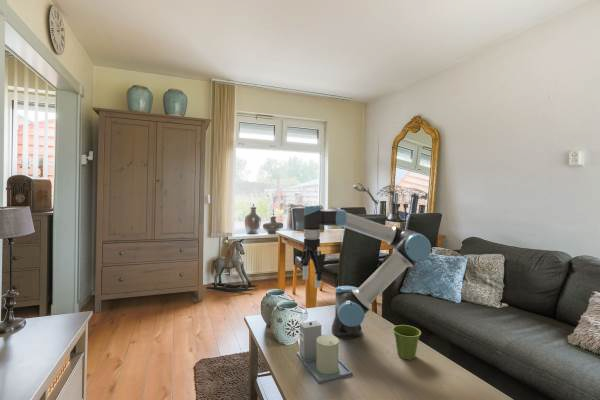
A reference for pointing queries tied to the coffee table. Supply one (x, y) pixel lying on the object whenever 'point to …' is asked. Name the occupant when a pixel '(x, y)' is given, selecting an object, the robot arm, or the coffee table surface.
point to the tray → (323, 378)
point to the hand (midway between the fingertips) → (311, 283)
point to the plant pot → (406, 340)
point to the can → (327, 354)
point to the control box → (309, 340)
